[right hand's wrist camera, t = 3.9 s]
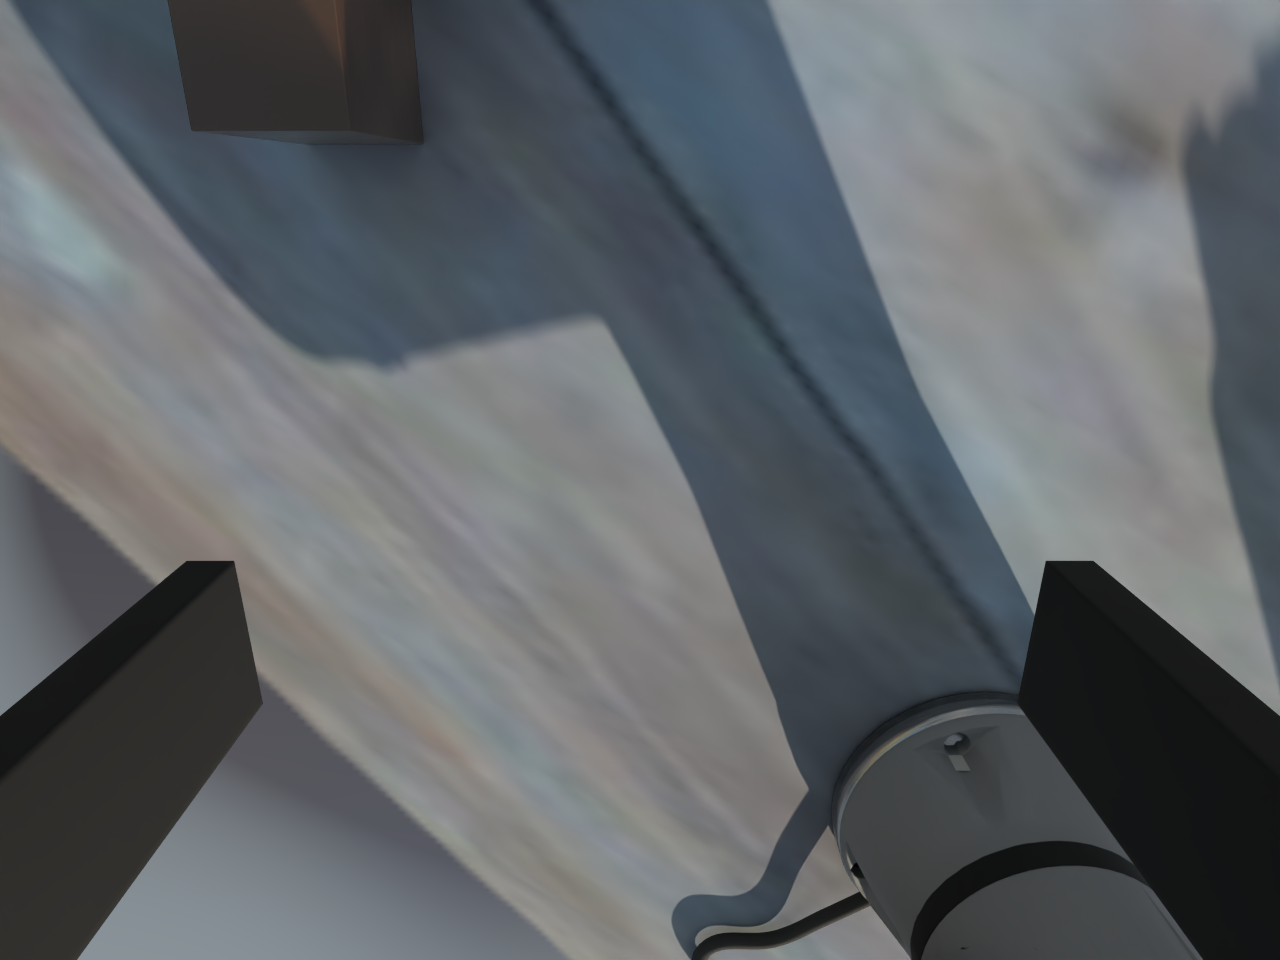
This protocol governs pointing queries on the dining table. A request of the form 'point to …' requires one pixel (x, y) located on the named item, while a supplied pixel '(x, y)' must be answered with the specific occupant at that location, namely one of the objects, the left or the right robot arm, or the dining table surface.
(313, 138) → the walnut beam
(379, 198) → the dining table surface
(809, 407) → the dining table surface
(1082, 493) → the dining table surface
